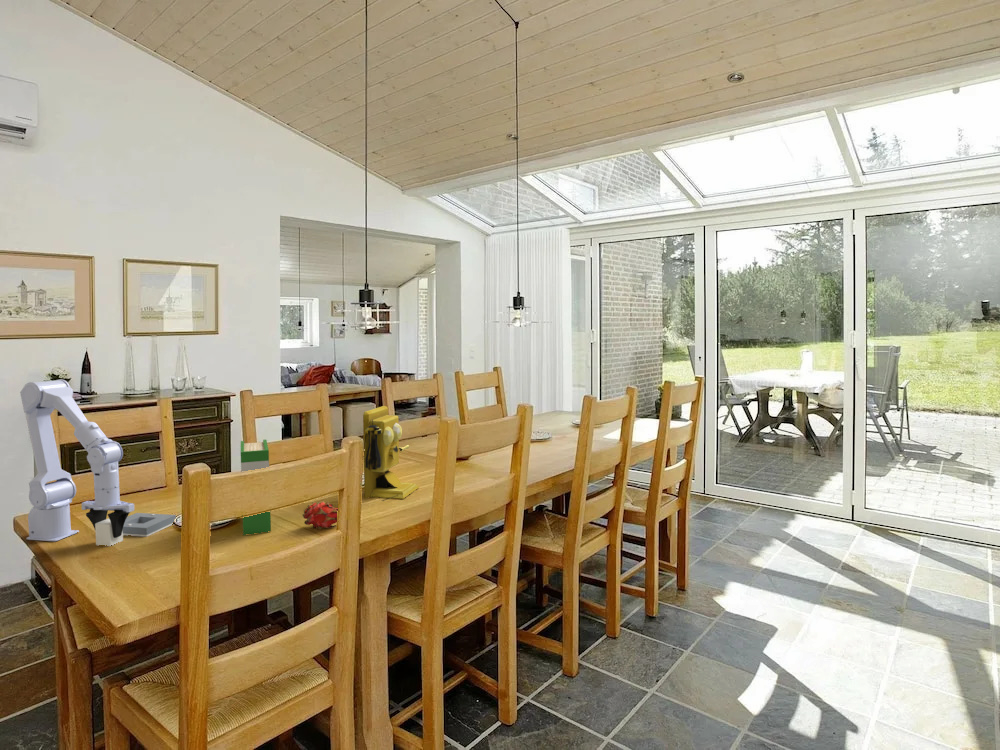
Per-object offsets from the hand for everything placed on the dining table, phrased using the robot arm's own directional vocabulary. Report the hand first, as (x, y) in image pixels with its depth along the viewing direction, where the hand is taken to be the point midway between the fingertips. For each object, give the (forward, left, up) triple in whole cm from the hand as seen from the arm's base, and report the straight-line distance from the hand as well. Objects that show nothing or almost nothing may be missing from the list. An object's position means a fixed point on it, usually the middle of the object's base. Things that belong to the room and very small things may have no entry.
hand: (109, 536), depth 167 cm
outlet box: (0, +12, -2) cm, 12 cm away
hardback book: (+31, +21, -2) cm, 38 cm away
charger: (0, 0, -2) cm, 2 cm away
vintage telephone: (+60, +60, -2) cm, 85 cm away
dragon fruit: (+52, +22, -2) cm, 57 cm away
